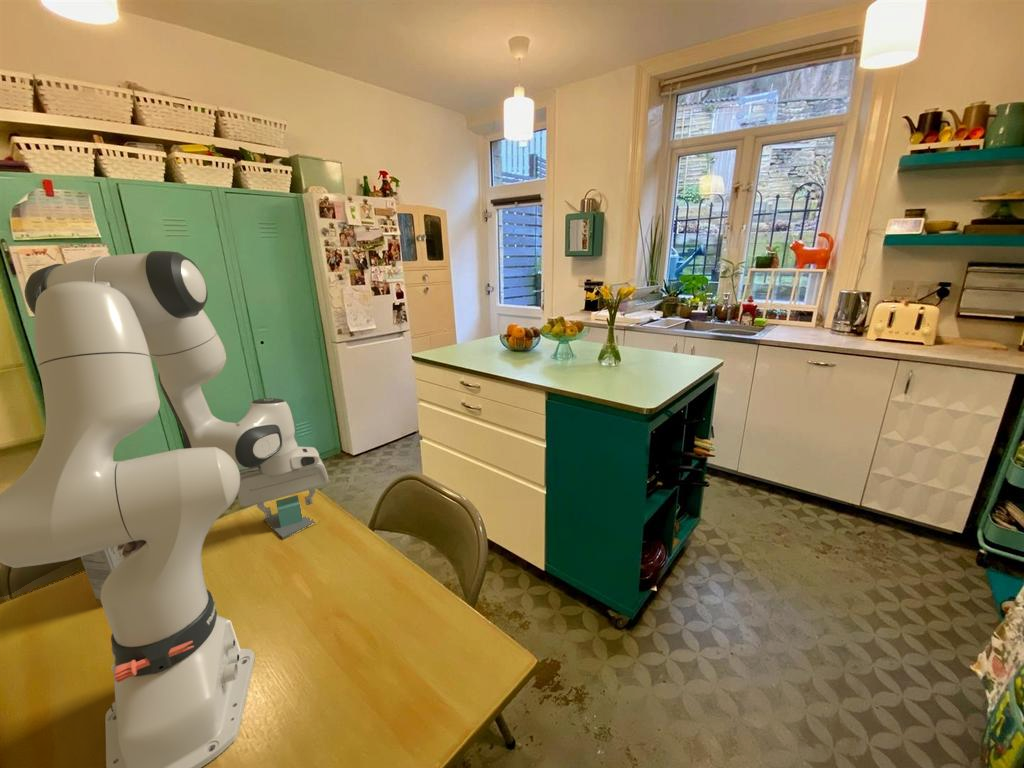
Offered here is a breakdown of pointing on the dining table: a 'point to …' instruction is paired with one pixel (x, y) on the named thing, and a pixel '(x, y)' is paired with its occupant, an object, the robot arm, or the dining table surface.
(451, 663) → the dining table surface
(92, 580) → the coffee box
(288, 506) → the teal cube
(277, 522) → the mat
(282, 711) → the dining table surface
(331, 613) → the dining table surface
